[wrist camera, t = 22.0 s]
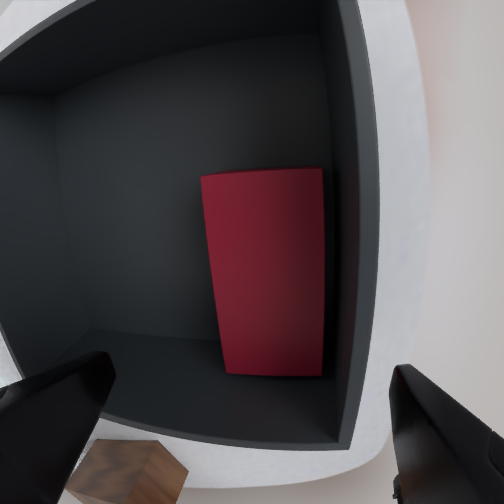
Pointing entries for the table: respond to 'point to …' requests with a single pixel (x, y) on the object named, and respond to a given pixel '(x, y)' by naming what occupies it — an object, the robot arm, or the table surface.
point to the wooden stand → (127, 474)
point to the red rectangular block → (268, 267)
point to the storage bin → (183, 202)
